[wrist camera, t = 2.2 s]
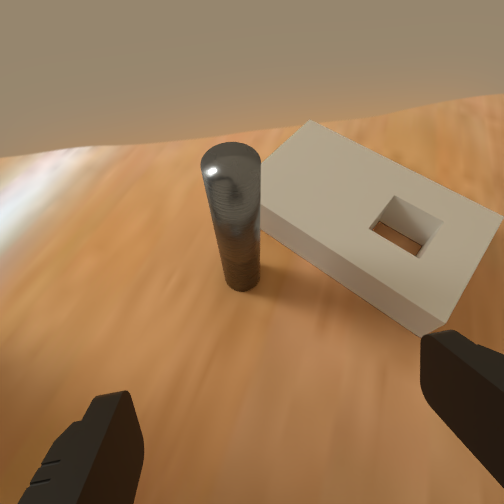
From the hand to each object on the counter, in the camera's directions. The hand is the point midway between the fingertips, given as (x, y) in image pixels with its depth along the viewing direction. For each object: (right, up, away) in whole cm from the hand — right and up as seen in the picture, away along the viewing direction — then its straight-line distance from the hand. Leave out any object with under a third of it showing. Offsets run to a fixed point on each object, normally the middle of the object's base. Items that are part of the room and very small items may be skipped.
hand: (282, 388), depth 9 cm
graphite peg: (-2, +2, +20) cm, 20 cm away
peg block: (+9, +6, +23) cm, 25 cm away
